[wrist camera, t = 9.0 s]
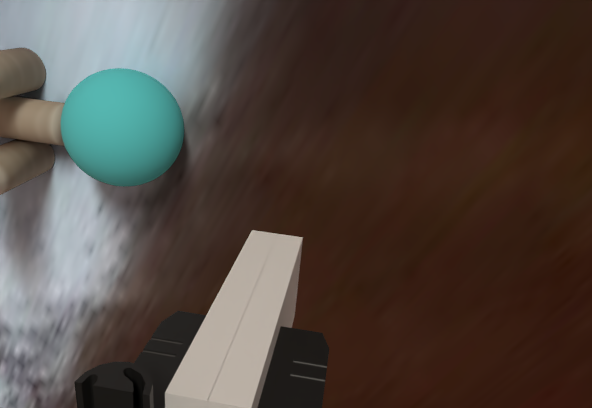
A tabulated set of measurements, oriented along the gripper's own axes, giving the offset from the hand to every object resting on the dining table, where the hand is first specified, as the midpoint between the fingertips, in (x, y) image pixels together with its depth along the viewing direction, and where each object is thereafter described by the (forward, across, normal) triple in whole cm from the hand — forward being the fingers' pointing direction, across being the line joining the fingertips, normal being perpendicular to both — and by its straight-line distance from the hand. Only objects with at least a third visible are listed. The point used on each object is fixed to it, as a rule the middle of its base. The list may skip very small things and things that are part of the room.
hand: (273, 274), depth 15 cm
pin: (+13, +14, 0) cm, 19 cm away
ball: (+11, +10, -1) cm, 15 cm away
